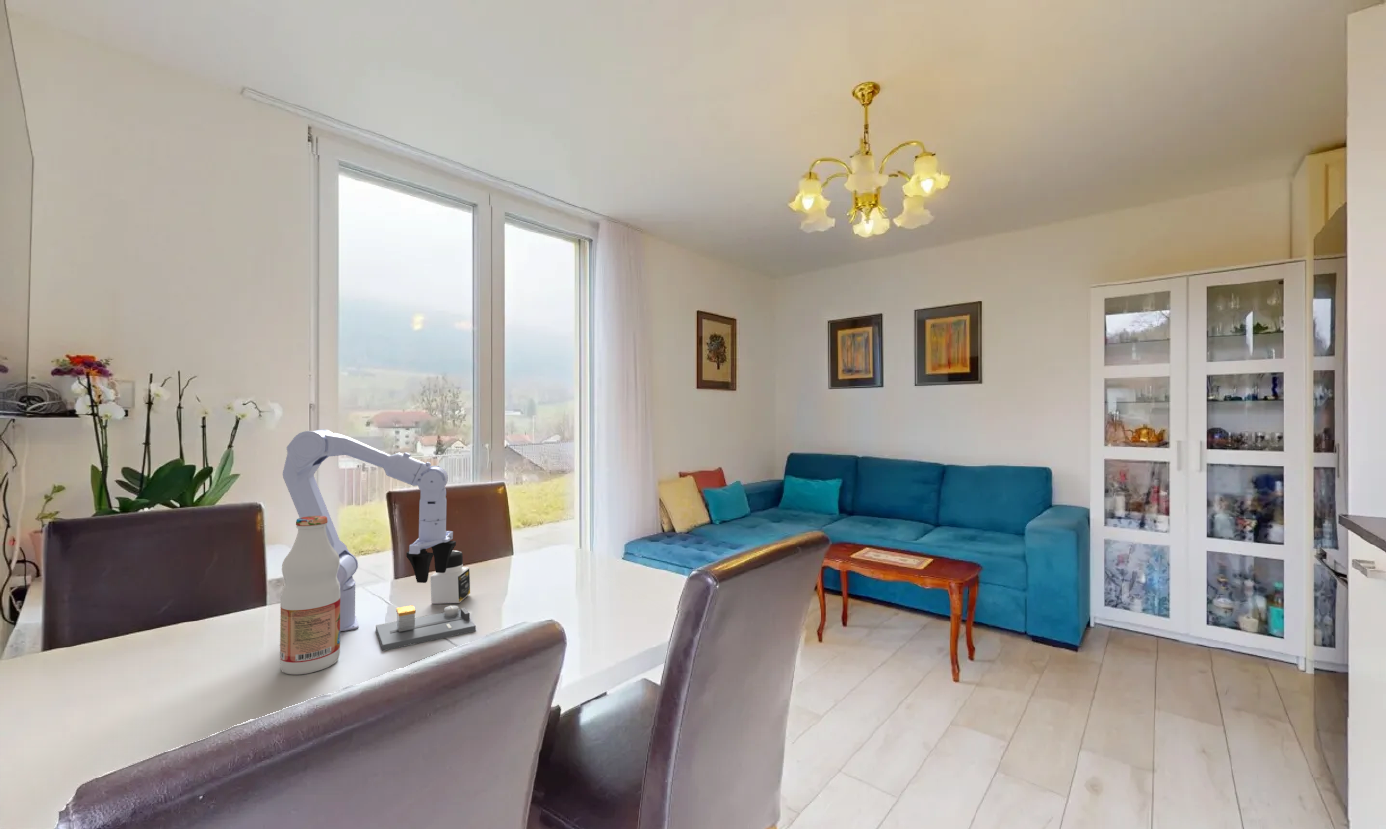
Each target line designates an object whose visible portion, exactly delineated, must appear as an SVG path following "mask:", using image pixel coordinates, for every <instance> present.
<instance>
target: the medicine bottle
mask: <svg viewBox="0 0 1386 829" xmlns="http://www.w3.org/2000/svg"><path fill="white" fill-rule="evenodd" d="M463 558H464V556H463V552H462V551H459V550H452V553H451V555H450V558H449V561H448V565H447V568H446V572H445V573H436V572H434V573H433V574H432V575H430V577H429V578H430V598H431V599H430V601H431V602H430V603H431V604H433V605H435V604H436V605H437V604H438V605H439V604H459V603H461V602H462V601H464V599H466V597H468V596H469V595H470V594H471V579H470V577H471V576H470V567H468V566H465V567H464V560H463Z"/></svg>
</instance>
